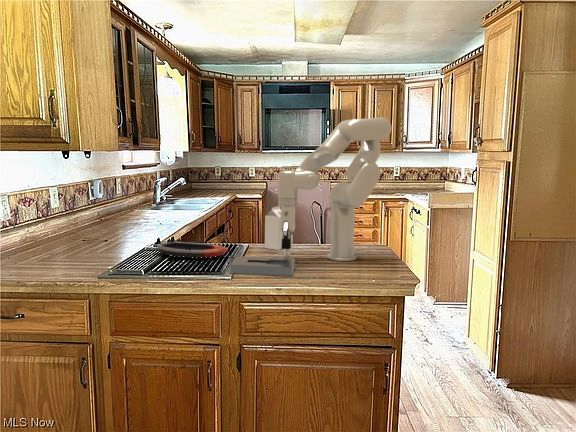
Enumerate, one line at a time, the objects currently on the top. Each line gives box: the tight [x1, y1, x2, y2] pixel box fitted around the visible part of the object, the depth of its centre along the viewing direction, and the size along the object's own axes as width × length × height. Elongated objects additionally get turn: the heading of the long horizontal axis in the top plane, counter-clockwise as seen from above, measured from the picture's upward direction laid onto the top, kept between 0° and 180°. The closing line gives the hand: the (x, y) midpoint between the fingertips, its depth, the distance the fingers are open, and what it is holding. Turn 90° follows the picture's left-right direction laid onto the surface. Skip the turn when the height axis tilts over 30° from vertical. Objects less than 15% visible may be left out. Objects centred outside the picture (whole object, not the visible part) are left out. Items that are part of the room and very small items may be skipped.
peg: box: [281, 233, 294, 259], centre depth 172 cm, size 5×5×11 cm
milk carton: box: [264, 205, 283, 251], centre depth 196 cm, size 7×7×19 cm
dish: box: [156, 240, 229, 257], centre depth 179 cm, size 16×31×5 cm, turn 75°
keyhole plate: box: [229, 255, 296, 277], centre depth 159 cm, size 22×13×3 cm, turn 84°
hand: (286, 246), depth 171 cm, fingers open, 6 cm apart
